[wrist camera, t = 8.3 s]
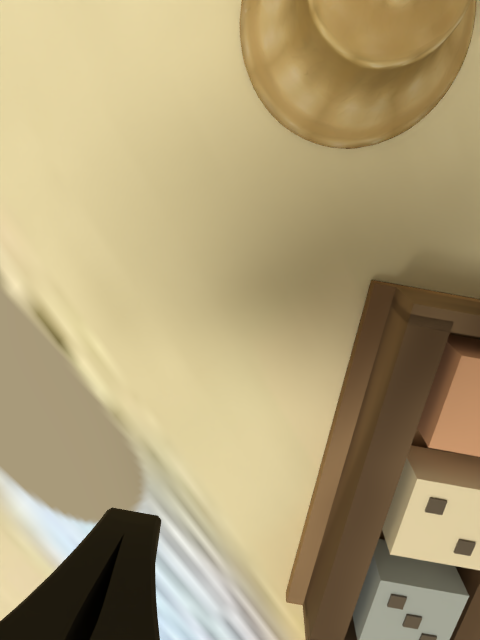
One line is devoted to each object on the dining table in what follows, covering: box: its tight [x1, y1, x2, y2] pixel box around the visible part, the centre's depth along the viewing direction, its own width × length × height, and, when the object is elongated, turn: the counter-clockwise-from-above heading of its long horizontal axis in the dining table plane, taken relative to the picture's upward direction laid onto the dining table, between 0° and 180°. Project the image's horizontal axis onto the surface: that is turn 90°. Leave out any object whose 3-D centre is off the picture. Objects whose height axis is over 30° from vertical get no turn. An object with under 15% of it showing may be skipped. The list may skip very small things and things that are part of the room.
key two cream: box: [382, 445, 480, 570], centre depth 20 cm, size 4×4×3 cm
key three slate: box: [353, 539, 469, 640], centre depth 22 cm, size 4×4×3 cm
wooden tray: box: [286, 280, 480, 640], centre depth 21 cm, size 10×18×3 cm, turn 170°
